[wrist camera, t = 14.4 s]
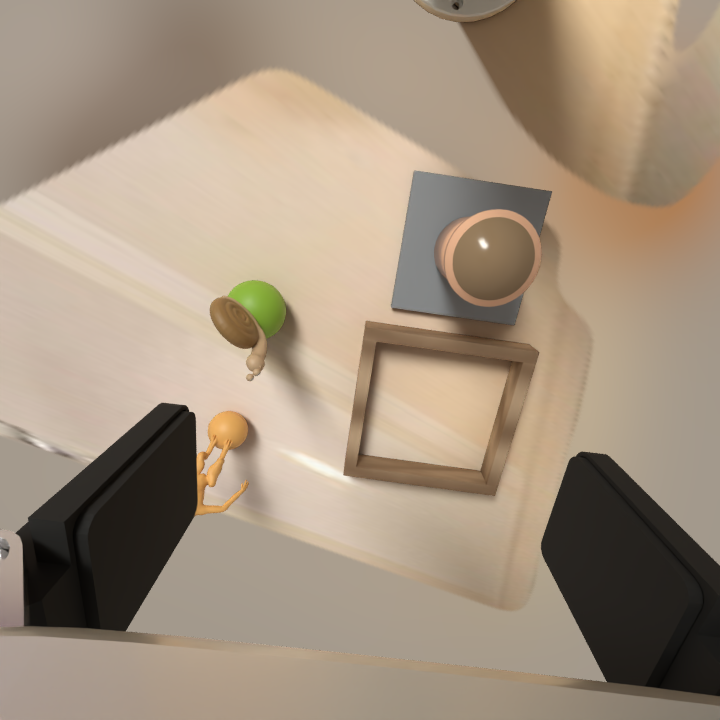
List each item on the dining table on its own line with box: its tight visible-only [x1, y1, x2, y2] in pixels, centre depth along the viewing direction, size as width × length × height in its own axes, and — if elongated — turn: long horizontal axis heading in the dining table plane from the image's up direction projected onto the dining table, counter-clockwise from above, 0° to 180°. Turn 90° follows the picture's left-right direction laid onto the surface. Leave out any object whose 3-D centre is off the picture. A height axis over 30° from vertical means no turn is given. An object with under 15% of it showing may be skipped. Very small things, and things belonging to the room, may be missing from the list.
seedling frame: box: [343, 321, 539, 496], centre depth 41 cm, size 16×16×2 cm
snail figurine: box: [210, 280, 286, 381], centre depth 33 cm, size 5×6×12 cm
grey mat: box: [391, 171, 552, 325], centre depth 36 cm, size 12×12×1 cm
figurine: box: [195, 411, 249, 516], centre depth 38 cm, size 8×6×12 cm
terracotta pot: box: [434, 209, 542, 307], centre depth 32 cm, size 7×7×8 cm
